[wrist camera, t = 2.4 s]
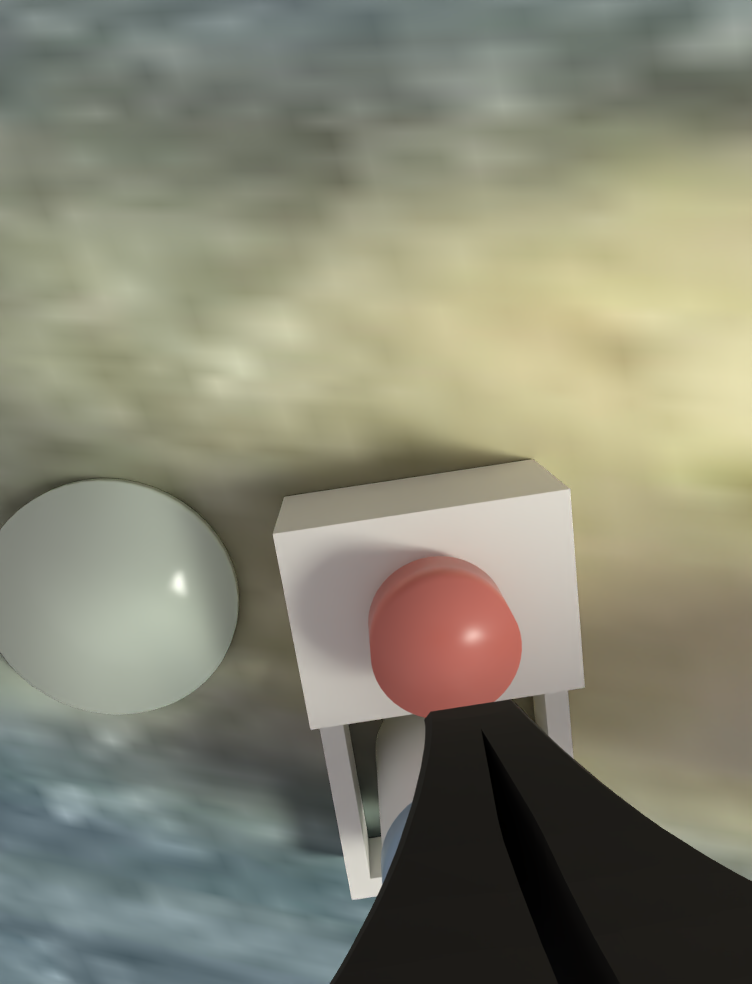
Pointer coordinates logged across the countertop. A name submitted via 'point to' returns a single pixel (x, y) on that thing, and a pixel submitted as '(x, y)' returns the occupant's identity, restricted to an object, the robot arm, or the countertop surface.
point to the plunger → (442, 636)
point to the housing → (387, 547)
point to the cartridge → (397, 777)
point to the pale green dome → (114, 596)
